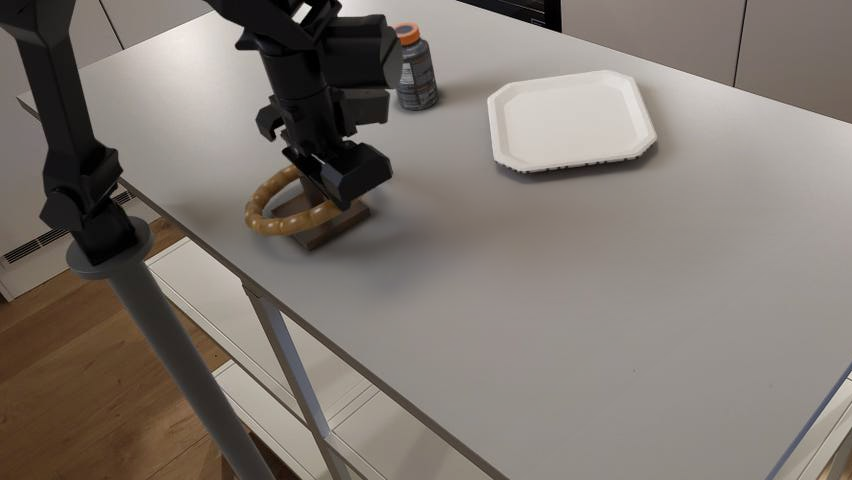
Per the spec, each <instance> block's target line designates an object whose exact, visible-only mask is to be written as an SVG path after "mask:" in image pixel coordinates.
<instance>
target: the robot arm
mask: <svg viewBox="0 0 852 480" xmlns="http://www.w3.org/2000/svg"><path fill="white" fill-rule="evenodd" d="M201 1H202V2H204V3H206V4H208V5H209V6H210V7H211V8H212V9H213V10H214V11H215V12H216V13H217V14H218V15H219V16H220V17H221V18H222V19H224V20H226V21H228V22H231V23H233V24H234V25H237V26H239V27H241V28H243V30H242V33H241V35H240V37H239V38H238V40H237V41H236V42H235V43H234V48H235V49H236V51H238V52H239V51H242V52H245V51H246V52H247V51H249V52H250V51H251V52H252V51H254V52H255V51H256V52H258V53H259V57H260V59H261V62H262V64H263V68H264V70H265V71H264V72H265V73H266V76H267V79H268V81H269V85H270V87H271V90H272V92H273V94H271V95H269V96H268V100H269V104H267V105H266V106H264V107H261V108H259V110H258V112H257V114H256V116H255V119H254V121H255V124H256V126H257V129H258V131H259V133H260V135H261V136H262V137H264V139H266V140H267V141H268V142H269V143H273V142H275V141H276V140H277V134H276V131H275V130H277V129H279V128H281V127H283V126H285V128H283V129H281V130H280V134H279V136H280V138H281V139H282V140H283V141H284V142H285V144H286V147H284V148H283V149H282V150H281V154H282V155H283V157H285V158H286V160H288V161H289V163H291V164H293V165H294V166H295V167H296V168H297V169H298V170H299V171H300V172H301V173H302V174H303V175H304V176H305V177H306V178H307V179H308V180H309V181H310V182H311V183H312V184H313V185H314V186H315V187H316V188H317V189H318V190H319V191H320V192H321V193H322V194H323V195H324V196H325V197H326V198H327V199H328V200H329V199H330V200H331V201H332V202H333V203H334V204H335V205H336V206H337V207H338V208H339V209H340V211H342V212H345V211H347V210H348V209H350V207H351V201H352V200H354V199H356V198H358V197H359V196H361V195H363V194H364V195H366V194H367V193H368V192H370V191H372V190H373V189H375V188H377V187H379V186H381V185H382V184H384V183H386V182H388V181H389V180H392V178H393V175H394V169H393V167H392V166H393V165H392V162H391V159H390V157H389V156H387V155H385V154H384V153H383V152H381V150H379V149H377V148H376V147H374V146H373V145H372V144H368V143H366V142H363V141H361V142H359V143H356V142H355V141H354V140H352V139H345V140H344V139H343V138H345V137H346V138H351V137H352V136H355V135H357V134H358V133H359V132H358V128H357V126H366V125H373V124H379V125H385V124H386V123H388V121H389V111H390V101H391V93H390V92H389V91H388V90H396V88H397V87H398V85H399V83H400V80H401V76H402V70H403V51H402V44H401V40H400V37H398V36H397V34H396V31H395V30H394V28H393V27H394V26H391V25H388V21H387V16H386V15H385V14H383V13H374V14H373V13H372V14H368V15H362V16H339V15H338V14H339V13H340V12H341V10H342V8H343V4H342V2H341V1H339V0H201ZM76 3H77V0H0V28H1V29H2V30H4V31H5V32H6V33H7V34H9V35H10V36H11V37H13V39H14V40H15V43H16V47H17V50H18V52H19V56H20V60H21V62H22V66H23V69H24V72H25V76H26V78H27V82H28V85H29V88H30V91H31V95H32V98H33V101H34V105H35V108H36V112H37V114H38V118H39V122H40V124H41V128H42V131H43V133H44V138H45V141H46V144H47V150H46V155H45V159H44V163H43V167H42V171H41V176H42V186H43V192H44V195H45V197H46V200H45V203H44V204H43V207H42V209H41V211H40V213H39V215H38V218H39V219H40V220H41V221H42V222H43V223H44V224H45V225H46V226H47V227H48V228H49V229H50V230H55V231H68V232H69V233H70V235H71V237H72V239H73V240H74V239H75V241H76V244H77V246H78V247H79V249H80V250H81V252H82V253H83V255H84V256H85V258H86V259H87V261H88V262H89V264H90V265H91V266H96V265H98V264H100V263H102V262H104V261H106V260H108V259H109V258H111V257H113V256H115V255H117V254H119V253H121V252H123V251H124V250H126V249H128V248H130V247H132V246H134V245H136V244H137V243H138V242H139V240H138V238H137V237H136V236H135V234H134V232H135V230H136V229H135V228H134V226H133V224H132V222H131V221H130V219H129V217H128V216H129V215H128V214H127V212H126V210H125V209H124V207H123V206H122V205H121V203H120V202H119V201H118V200H117V199H112V197H111V196H112V195H113V193H114V192H115V191H117V190H118V189H119V184H118V183H119V182H118V180H119V178H120V176H121V175H122V174H123V173H124V171H125V170H124V168H123V167H122V166H121V163H120V160H119V159H120V158H119V150H118V149H117V148H114V147H109V146H107V145H106V144H104V143H103V142H101V141H100V140H98V138H96V137H95V134H94V129H93V125H92V121H91V118H90V113H89V109H88V105H87V101H86V97H85V92H84V89H83V84H82V80H81V77H80V73H79V67H78V64H77V60H76V56H75V52H74V48H73V43H72V39H71V36H70V27H71V23H72V20H73V19H72V18H73V15H74V11H75V7H76ZM303 5H307V6H309V7H311V8H310V9H309V10H308V12H307V13H306V14H305V16H304V17H303V19H302V20H301V21H300V22H297V21H296V20H294V19H293V18H294V17H295V16H296V15H297V13H298V12H299V10H300V9H301V8H302V6H303ZM366 192H367V193H366ZM365 193H366V194H365ZM364 195H363V196H364Z"/></svg>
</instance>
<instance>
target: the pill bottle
mask: <svg viewBox="0 0 852 480" xmlns="http://www.w3.org/2000/svg"><path fill="white" fill-rule="evenodd" d="M392 27H393V28H394V30H395V31H396V34H397V36H398V37H400V40H401V44H402V51H403V70H402V76H401V80H400V83H399V85H398V87H397V88H396V89H395V93H396V97H397V101H398V104H399V105H400V106H401V108H403V109H406V110H410V111H417V110H424V109H426V108H428V107H431V106H432V105H433V104H435V103H436V101H437V100H438V98H439V91H438V86H437V85H438V84H437V81H436V75H435V70H434V65H433V59H432V53H431V49H430V45H429V42H428V41H427V39H426V38H425V37H423V36H421V32H420V29H419V26H418V25H417V24H416V23H414V22H401V23H398V24H396V25H393V26H392Z"/></svg>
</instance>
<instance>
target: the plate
mask: <svg viewBox="0 0 852 480" xmlns="http://www.w3.org/2000/svg"><path fill="white" fill-rule="evenodd" d="M637 83H638V82H637V81H636V79H635V78H634V77H632V76H629V75H627V74H623V73H620V72H617V71H614V70H611V69H601V70H594V71H587V72H580V73H572V74H571V73H570V74H565V75H558V76H557V75H556V76H549V77H542V78H533V79H528V80H519V81H513V82H509V83H506V84H505V85H503V86H502V87H500V88H499V89H497V90H496V91H494V92H493V93H492V94H491V95H489V96H488V98H487V99H486V103H487V112H488V120H489V129H490V138H491V147H492V155H493V157H492V158H493V160H494V162H495V163H496V164H497V165H499V166H502V167H505V168H507V169H509V170H512V171H514V172H516V173H518V174H531V173H538V172H545V171H552V170H553V171H555V170H560V169H561V170H562V169H569V168H576V167H577V168H578V167H585V166H592V165H600V164H606V163H607V164H608V163H616V162H623V161H629V160H631V161H632V160H636V159H639V158H641V156H642V155H644V154H645V153H646V152H647V151H648V150H649V149H650V148H652V147H653V146H654V145H655V144H656V143H657V141H658V135H657V132H656V129H655V126H654V124H653V122H652V119H651V116H650V113H649V111H648V109H647V106H646V103H645V101H644V98H643V96H642V94H641V91H640V88H639V86H638V84H637Z"/></svg>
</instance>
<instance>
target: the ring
mask: <svg viewBox="0 0 852 480" xmlns="http://www.w3.org/2000/svg"><path fill="white" fill-rule="evenodd" d="M297 171H298V169H297V168H296V167H295V166H294V165H293V164H292V163H291V164H288V165H287V166H285V167H284V168H281V169H280V170H278V171H277V172H276V173H275V174H274V175H272V176H271V177H269V179H267V180H265V181H264V182H263V183H262V184H261V185H260V186H258V188H257V189H256V190H255V191H254V193H253V194H252V196H251V197H250V198H249V200H247V202H246V204H245V209H244V211H245V212H244V224H245V225H246V227H248V228H249V229H250V230H252V231H253V232H255V233H256V234H259V235H260V236H262V237H278V236H280V237H282V236H283V237H284V236H287V237H288V236H292V234H295V233H298V232H301V231H304V230H307V229H311V228H314V227H317V226H319V225H321V224H323V223H325V222H326V221H328V220H330V219H332V218H334V217H335V216H337V215H339V214H341V213H343V212H342V211H340V209H339V208H338V207H337V206H336V205H335V204H334V203H333V202H332V201H331V200H330V199H329V200H327V201H325V202H324V203H322V204H320V205H318V206H316V207H315V208H313V209H311V210H308V211H305V212H302V213H299V214H296V215H292V216H289V217H286V218H274V217H273V218H267V217H266V216H264V215H263V214H264V213H263V210H264V209H265V208H266V207H267V205H268V204H269V202H270V201H271V199H272V198H273V197H275V196H276V195H277V194H278V193H280V192H281V191H283V189H285V188H286V187H288V185H290V184H292V183H294V182H295V181H297V180H300V179H299V176H298V174H297ZM367 193H368V192H366V193H365V194H363V195H361V196H359V197H358V198H356V199H354V200H352V201H351V206H352V205H353V204H354V203H355V202H357V201H358V200H360V199H361V198H363V196H365V195H366V194H367Z"/></svg>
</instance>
